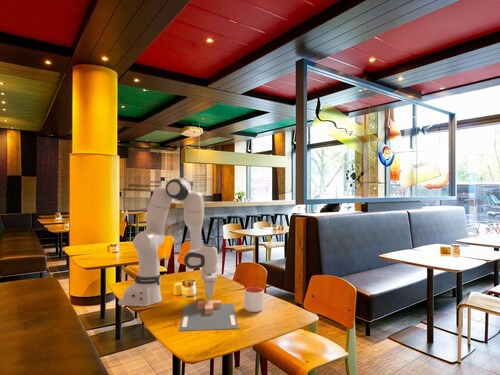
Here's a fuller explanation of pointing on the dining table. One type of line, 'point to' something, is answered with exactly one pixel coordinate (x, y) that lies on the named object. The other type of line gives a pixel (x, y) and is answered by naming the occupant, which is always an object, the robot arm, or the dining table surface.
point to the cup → (253, 299)
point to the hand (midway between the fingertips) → (208, 299)
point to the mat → (208, 318)
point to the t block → (209, 306)
